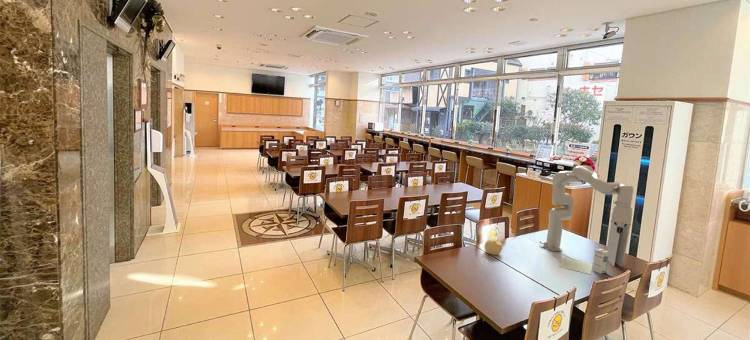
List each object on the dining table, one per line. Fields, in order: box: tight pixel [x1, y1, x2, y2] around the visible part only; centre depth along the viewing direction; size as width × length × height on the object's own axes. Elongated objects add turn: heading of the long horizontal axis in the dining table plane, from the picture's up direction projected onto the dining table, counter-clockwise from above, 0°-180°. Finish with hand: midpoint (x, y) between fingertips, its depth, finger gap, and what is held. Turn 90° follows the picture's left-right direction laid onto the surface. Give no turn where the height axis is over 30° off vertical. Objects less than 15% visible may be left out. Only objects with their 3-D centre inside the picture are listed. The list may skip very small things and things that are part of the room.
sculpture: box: [484, 238, 503, 256], centre depth 254 cm, size 11×12×11 cm
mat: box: [559, 257, 593, 275], centre depth 241 cm, size 18×20×1 cm
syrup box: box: [592, 248, 609, 274], centre depth 233 cm, size 6×6×14 cm
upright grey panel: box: [606, 222, 631, 268], centre depth 248 cm, size 14×6×30 cm, turn 168°
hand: (619, 233), depth 225 cm, fingers closed
